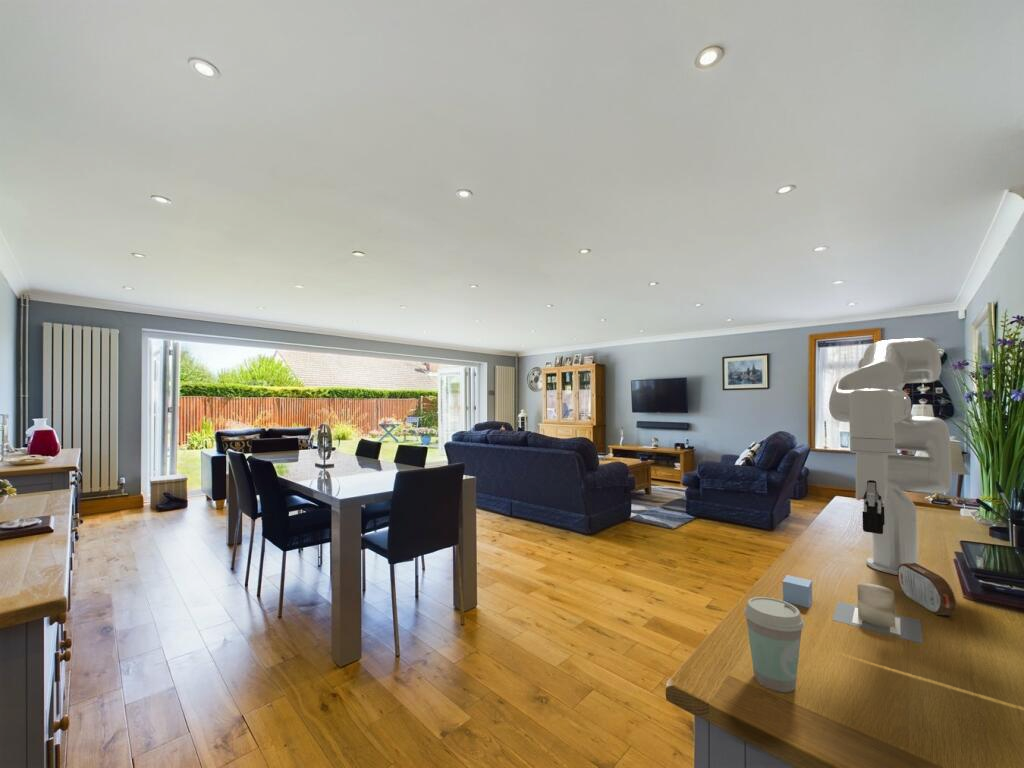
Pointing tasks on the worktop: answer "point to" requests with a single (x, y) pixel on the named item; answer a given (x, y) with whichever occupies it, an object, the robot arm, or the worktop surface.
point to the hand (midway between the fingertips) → (874, 528)
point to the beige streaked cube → (876, 605)
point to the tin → (926, 589)
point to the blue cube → (797, 591)
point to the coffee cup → (774, 641)
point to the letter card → (902, 628)
